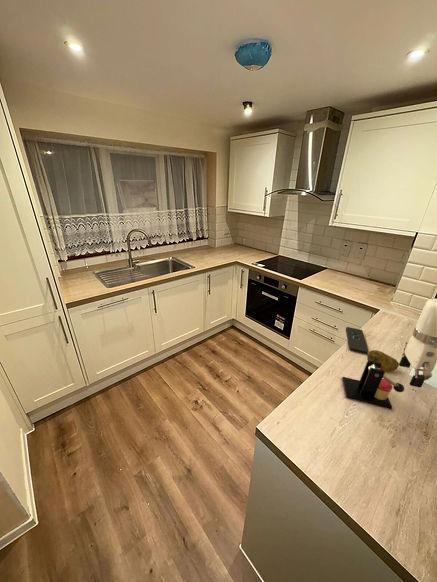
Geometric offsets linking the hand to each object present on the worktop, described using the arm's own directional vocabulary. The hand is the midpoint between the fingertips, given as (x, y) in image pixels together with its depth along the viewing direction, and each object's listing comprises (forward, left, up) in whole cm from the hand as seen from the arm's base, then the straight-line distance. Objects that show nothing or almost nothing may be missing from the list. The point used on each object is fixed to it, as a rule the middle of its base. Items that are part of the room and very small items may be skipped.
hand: (409, 375), depth 83 cm
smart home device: (+7, -36, -13) cm, 39 cm away
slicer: (+11, 0, -13) cm, 17 cm away
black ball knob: (+7, 0, -5) cm, 8 cm away
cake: (+6, 0, -12) cm, 13 cm away
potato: (+1, -18, -13) cm, 22 cm away
